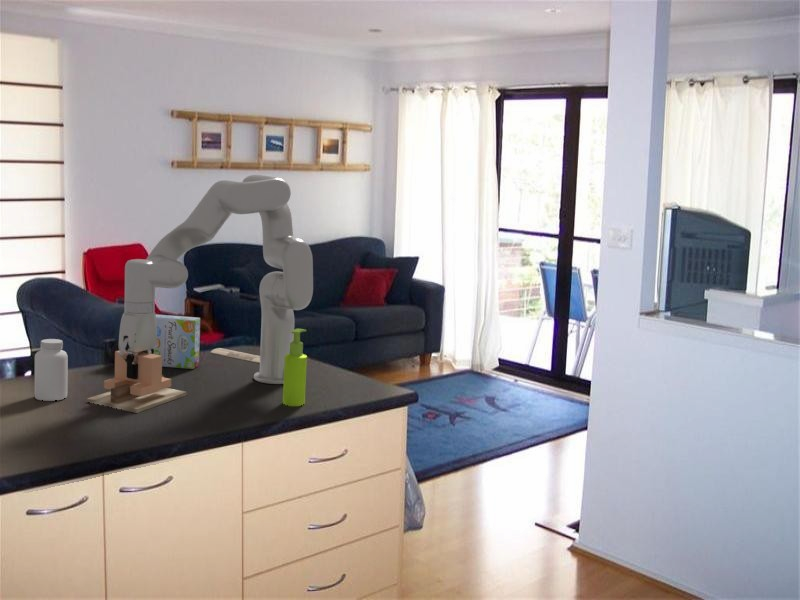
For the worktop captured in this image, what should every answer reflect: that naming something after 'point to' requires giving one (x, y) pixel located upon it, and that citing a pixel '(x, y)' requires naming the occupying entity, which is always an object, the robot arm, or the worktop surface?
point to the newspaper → (236, 355)
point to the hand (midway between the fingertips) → (138, 375)
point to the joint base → (135, 398)
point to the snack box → (178, 341)
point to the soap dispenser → (295, 372)
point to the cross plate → (140, 374)
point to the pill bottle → (51, 371)
